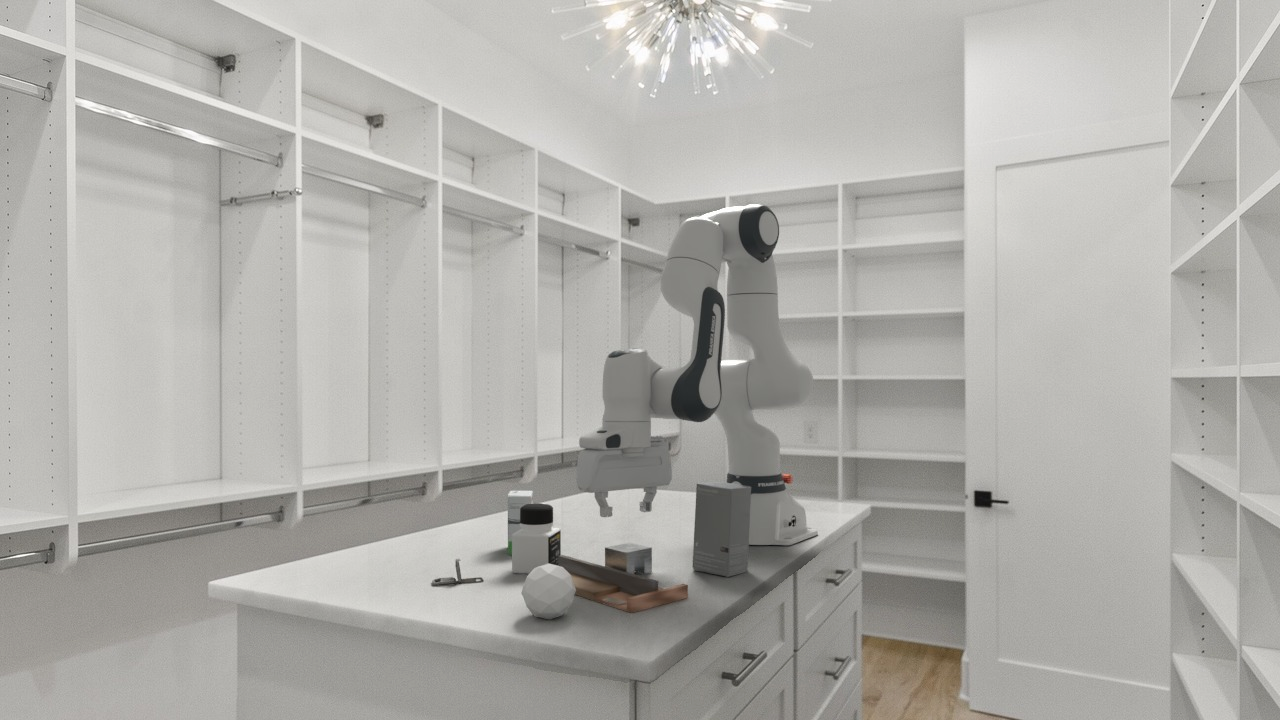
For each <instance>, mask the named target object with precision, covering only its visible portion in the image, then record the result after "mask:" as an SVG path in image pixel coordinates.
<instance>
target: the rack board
mask: <svg viewBox="0 0 1280 720" xmlns="http://www.w3.org/2000/svg"><path fill="white" fill-rule="evenodd" d="M558 566H561V567H563V568H564V569H565V570H566V571H567V572H568V573H569V574H570V575H571V577H572V580H573V583H574V586H575V588H576V592H575V595H576V596H579V597H582V598H585V599H588V600H591V601H594V602H596V603H600V604H604V605H607V606H609V607H612V608H614V609H615V608H616V609H619V610H621V611H624V612H628V613H630V614H632V613H637V612H639V611H640V612H641V611H644V610H647V609H651V608H655V607H658V606H662V605H665V604H670V603H673V602H676V601H677V602H678V601H680V600H681V601H682V600H684V599H687V598H688V597H689V589H688V588H689V586H688V584H686V583H681V584H678V585H673V586H669V587H665V588H664V587H660V586H659V580H656V579H653V578H652V579H651V578H649V577H646V576H645V577H644V576H642V575H637V574H635V573H634V574H631V573H627V572H623V571H620V570H616V569H612V568H609V567H605V565H601V564H597V563H594V562H590V561H586V560H583V559H579V558H575V557H572V556H567V555H563V554H561V555H560V556H558ZM575 595H574V596H575Z"/></svg>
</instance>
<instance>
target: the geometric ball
mask: <svg viewBox="0 0 1280 720" xmlns="http://www.w3.org/2000/svg"><path fill="white" fill-rule="evenodd" d="M523 584H524V585H523V586H522V589H521V595H522V598H523V600H524V603H525V605H526V606H525V607H526V609H528V611H529V612H531V614H532V615H533V616H534V617H538V618H542V619H545V620H552V619H555V618H559V617H561V616H563V615H565V614H566V612H567V611H568V609H569V608H570V607H571V605H572V603H573V600H574V596H575V592H576V588H575V586H574V583H573V580H572V577H571V575H570V574H569V573H568V572H567V571H566V570H565V569H564V568H563V567H561V566H557V565H553V564H549V563H548V564H545V565H542V566H539V567H536V568H534V569H533V570H532V571H531V573H530V574H527V576H526V578H525V581H524V583H523Z"/></svg>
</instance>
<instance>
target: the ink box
mask: <svg viewBox="0 0 1280 720" xmlns="http://www.w3.org/2000/svg"><path fill="white" fill-rule="evenodd" d="M533 494H534V491H533V490H509V492H508V494H507V555H512V534H514V533H516V532H517V531H519V530H521V529H522V528H521V527H520V508H521V507H522V506H524V505H526V504H531V503H534V500H533V499H534V498H533V497H534V495H533Z"/></svg>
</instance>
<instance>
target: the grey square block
mask: <svg viewBox="0 0 1280 720" xmlns="http://www.w3.org/2000/svg"><path fill="white" fill-rule="evenodd" d="M604 566H605V567H609V568H612V569H616V570H620V571H623V572H627V573H631V574H634V575H635V573H638V572H639V573H638V574H642V573H643V574H642V575H647V573H648V574H652V573H653V547H650V546H645V545H641V544H637V543H633V542H625V543H621V544H616V545H610V546H605V547H604ZM634 571H636V572H634ZM651 572H652V573H651Z"/></svg>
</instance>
